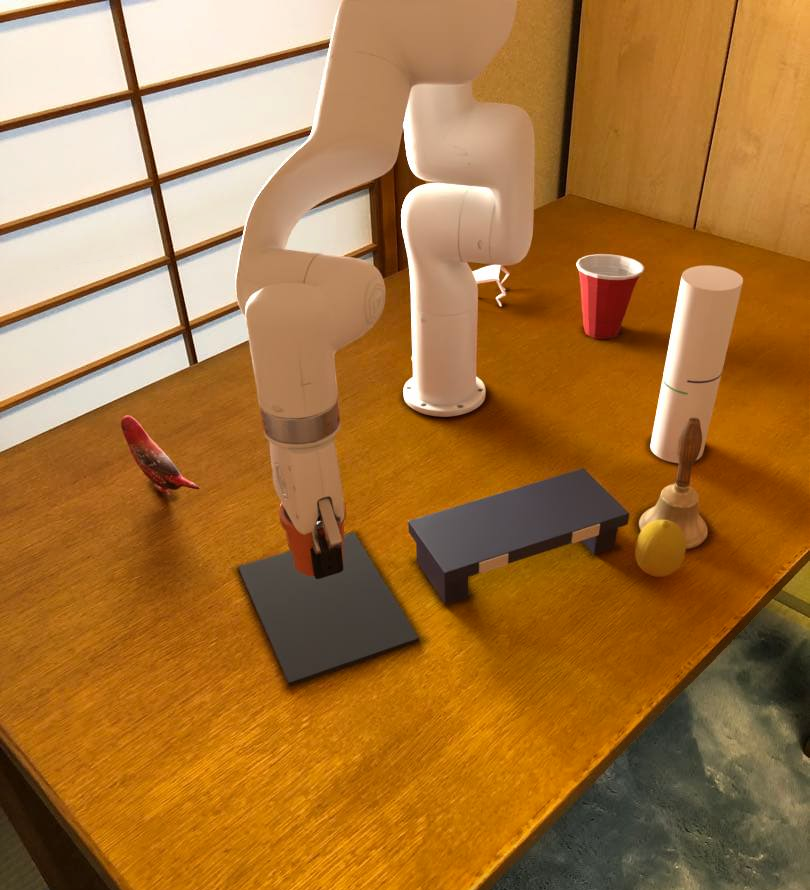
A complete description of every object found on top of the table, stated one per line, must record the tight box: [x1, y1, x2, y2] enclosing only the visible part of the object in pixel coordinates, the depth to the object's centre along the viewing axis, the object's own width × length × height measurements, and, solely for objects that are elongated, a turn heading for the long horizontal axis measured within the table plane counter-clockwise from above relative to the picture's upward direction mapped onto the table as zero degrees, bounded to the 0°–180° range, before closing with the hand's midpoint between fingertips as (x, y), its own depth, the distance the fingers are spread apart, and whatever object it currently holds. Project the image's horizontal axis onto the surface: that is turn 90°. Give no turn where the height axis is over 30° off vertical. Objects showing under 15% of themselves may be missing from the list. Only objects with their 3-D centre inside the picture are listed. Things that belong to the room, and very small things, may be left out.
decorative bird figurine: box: [120, 415, 201, 498], centre depth 114 cm, size 3×18×10 cm, turn 44°
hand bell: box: [638, 418, 709, 550], centre depth 104 cm, size 8×8×16 cm
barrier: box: [407, 467, 630, 605], centre depth 104 cm, size 10×24×6 cm, turn 114°
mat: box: [237, 531, 420, 687], centre depth 101 cm, size 20×15×1 cm
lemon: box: [634, 520, 687, 578], centre depth 101 cm, size 6×6×8 cm
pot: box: [278, 499, 347, 577], centre depth 94 cm, size 7×7×7 cm
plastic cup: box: [575, 253, 645, 340], centre depth 145 cm, size 11×11×12 cm
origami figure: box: [472, 264, 511, 307], centre depth 158 cm, size 12×8×5 cm
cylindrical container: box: [649, 265, 744, 464], centre depth 114 cm, size 7×7×25 cm
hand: (317, 553), depth 96 cm, fingers closed on pot, 6 cm apart
